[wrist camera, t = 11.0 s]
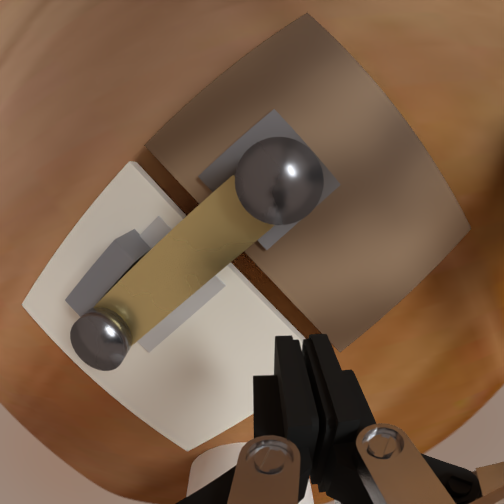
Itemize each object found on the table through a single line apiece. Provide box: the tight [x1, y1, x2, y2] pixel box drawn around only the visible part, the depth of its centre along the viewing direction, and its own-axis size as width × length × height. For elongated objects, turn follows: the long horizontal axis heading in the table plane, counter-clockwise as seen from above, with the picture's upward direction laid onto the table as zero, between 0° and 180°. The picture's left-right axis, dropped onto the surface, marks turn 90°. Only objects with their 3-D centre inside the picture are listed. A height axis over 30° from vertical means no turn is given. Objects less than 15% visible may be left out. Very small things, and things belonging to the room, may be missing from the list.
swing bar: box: [70, 137, 324, 371], centre depth 12 cm, size 12×3×4 cm, turn 131°
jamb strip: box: [145, 13, 471, 352], centre depth 14 cm, size 14×10×1 cm
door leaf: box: [22, 161, 306, 451], centre depth 15 cm, size 14×11×3 cm
